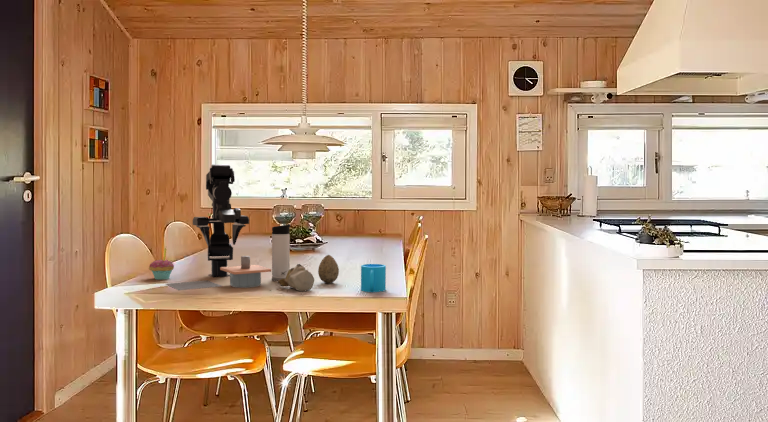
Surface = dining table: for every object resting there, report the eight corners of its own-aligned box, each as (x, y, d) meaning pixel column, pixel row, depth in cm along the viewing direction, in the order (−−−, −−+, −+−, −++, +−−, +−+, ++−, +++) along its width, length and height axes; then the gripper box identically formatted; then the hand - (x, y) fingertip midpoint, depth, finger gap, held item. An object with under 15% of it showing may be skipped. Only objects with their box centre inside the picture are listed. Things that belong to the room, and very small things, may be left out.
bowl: (226, 285, 241) (226, 269, 241) (253, 282, 247) (253, 267, 247) (237, 289, 233) (237, 273, 233) (265, 286, 238) (265, 271, 238)
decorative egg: (320, 285, 243) (320, 256, 242) (316, 282, 250) (316, 253, 249) (340, 284, 245) (340, 255, 244) (336, 281, 252) (336, 253, 251)
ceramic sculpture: (291, 266, 226) (274, 263, 239) (292, 293, 226) (275, 289, 239) (322, 264, 231) (303, 262, 244) (322, 291, 231) (304, 287, 244)
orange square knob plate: (220, 269, 241) (220, 255, 241) (255, 267, 249) (255, 253, 248) (234, 274, 231) (234, 259, 230) (271, 271, 238) (271, 257, 237)
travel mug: (287, 281, 250) (287, 225, 249) (269, 281, 251) (269, 224, 250) (292, 279, 256) (292, 223, 255) (275, 278, 257) (275, 223, 256)
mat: (164, 284, 241) (164, 283, 241) (207, 281, 250) (207, 280, 250) (178, 291, 229) (178, 290, 229) (222, 287, 237) (222, 286, 237)
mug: (362, 287, 239) (362, 263, 238) (386, 288, 238) (386, 264, 238) (358, 294, 227) (358, 268, 226) (384, 294, 226) (384, 269, 226)
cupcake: (179, 278, 256) (178, 245, 255) (164, 281, 248) (164, 247, 247) (159, 277, 259) (158, 244, 258) (143, 280, 251) (143, 246, 250)
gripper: (202, 202, 234) (203, 249, 235) (255, 201, 244) (255, 246, 245) (191, 200, 244) (192, 245, 244) (243, 199, 254) (243, 243, 255)
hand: (221, 245), depth 247 cm, fingers open, 9 cm apart
